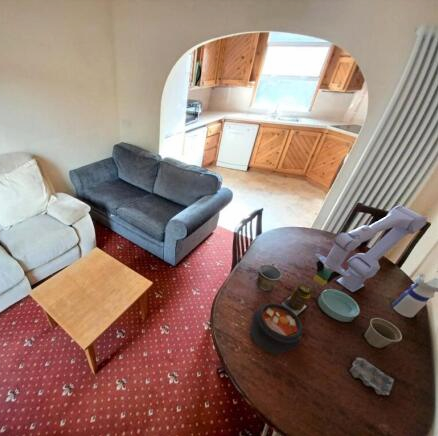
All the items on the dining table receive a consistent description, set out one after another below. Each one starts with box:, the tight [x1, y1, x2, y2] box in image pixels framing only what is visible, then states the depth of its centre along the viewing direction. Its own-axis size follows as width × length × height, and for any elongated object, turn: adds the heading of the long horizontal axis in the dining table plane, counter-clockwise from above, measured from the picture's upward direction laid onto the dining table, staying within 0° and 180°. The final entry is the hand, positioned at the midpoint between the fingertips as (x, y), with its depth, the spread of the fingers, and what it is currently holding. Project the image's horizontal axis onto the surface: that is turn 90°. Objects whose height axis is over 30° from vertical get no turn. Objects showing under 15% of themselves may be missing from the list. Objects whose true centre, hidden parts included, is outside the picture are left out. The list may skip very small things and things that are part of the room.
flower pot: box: [363, 317, 403, 349], centre depth 93 cm, size 9×9×9 cm
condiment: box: [281, 283, 312, 316], centre depth 106 cm, size 7×8×12 cm
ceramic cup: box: [256, 263, 283, 291], centre depth 117 cm, size 13×10×10 cm
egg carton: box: [349, 357, 395, 396], centre depth 84 cm, size 11×8×4 cm
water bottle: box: [391, 270, 438, 318], centre depth 100 cm, size 8×9×25 cm
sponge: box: [312, 268, 333, 286], centre depth 111 cm, size 7×4×4 cm, turn 114°
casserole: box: [249, 302, 304, 356], centre depth 97 cm, size 25×19×8 cm
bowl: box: [317, 288, 361, 323], centre depth 107 cm, size 14×14×4 cm
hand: (323, 277), depth 112 cm, fingers closed on sponge, 4 cm apart
